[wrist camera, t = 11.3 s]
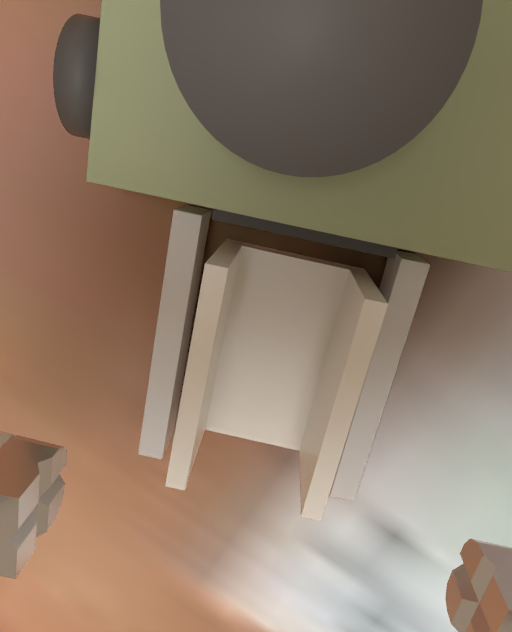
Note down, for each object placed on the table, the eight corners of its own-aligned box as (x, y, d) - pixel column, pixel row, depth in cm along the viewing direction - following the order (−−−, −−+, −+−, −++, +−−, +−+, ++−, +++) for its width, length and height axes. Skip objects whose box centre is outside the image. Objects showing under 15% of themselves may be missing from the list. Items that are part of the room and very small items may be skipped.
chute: (227, 237, 19) (204, 263, 14) (364, 268, 19) (388, 304, 14) (193, 414, 21) (165, 486, 17) (314, 441, 21) (320, 521, 17)
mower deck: (129, -234, 15) (10, -525, 8) (623, -132, 14) (869, -353, 8) (71, 410, 22) (-18, 510, 15) (403, 483, 21) (447, 613, 15)
